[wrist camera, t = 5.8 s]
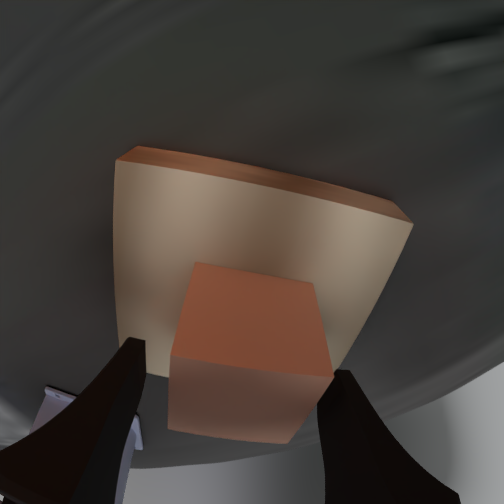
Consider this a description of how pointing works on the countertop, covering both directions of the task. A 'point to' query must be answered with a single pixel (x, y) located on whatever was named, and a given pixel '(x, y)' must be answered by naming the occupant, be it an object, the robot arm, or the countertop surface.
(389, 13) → the countertop surface
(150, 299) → the pedestal
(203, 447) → the countertop surface
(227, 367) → the cube
